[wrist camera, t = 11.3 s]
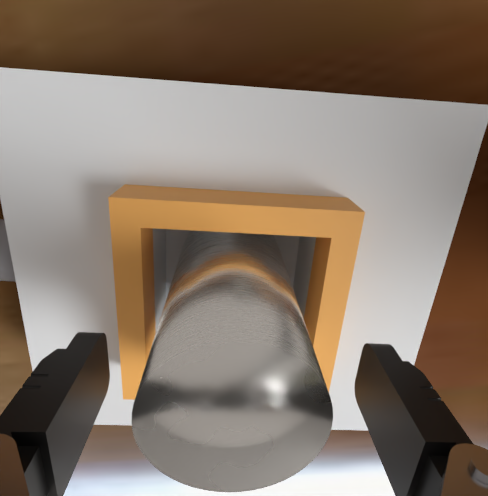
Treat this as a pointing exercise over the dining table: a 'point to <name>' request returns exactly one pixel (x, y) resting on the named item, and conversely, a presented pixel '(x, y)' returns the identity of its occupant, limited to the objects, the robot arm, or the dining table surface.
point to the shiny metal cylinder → (231, 371)
